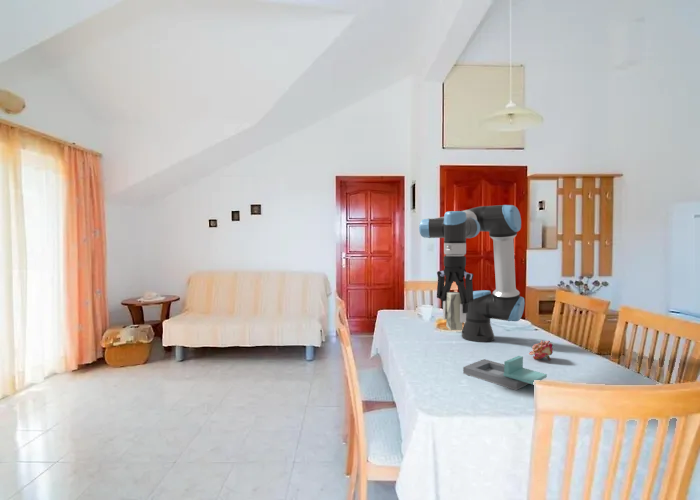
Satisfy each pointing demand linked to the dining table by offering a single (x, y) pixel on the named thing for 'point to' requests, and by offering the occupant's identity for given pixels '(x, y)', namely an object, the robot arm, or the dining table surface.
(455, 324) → the box
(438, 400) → the dining table surface
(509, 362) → the teal angle bracket
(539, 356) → the flower
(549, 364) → the dining table surface
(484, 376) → the socket block
